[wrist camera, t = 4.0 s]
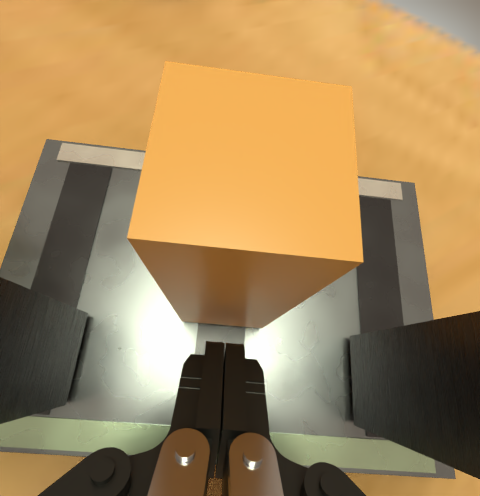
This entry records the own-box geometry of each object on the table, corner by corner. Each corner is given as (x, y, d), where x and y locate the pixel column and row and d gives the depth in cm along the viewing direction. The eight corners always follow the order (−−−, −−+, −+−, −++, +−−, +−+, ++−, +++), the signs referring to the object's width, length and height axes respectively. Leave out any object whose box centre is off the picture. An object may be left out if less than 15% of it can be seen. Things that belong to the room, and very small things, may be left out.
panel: (-38, 439, 15) (-1251, 816, 2) (57, 154, 20) (-171, -160, 8) (433, 468, 16) (1144, 803, 4) (401, 194, 22) (647, -22, 9)
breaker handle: (181, 321, 15) (127, 237, 5) (192, 245, 17) (165, 61, 7) (262, 328, 16) (363, 262, 5) (265, 253, 17) (351, 86, 7)
